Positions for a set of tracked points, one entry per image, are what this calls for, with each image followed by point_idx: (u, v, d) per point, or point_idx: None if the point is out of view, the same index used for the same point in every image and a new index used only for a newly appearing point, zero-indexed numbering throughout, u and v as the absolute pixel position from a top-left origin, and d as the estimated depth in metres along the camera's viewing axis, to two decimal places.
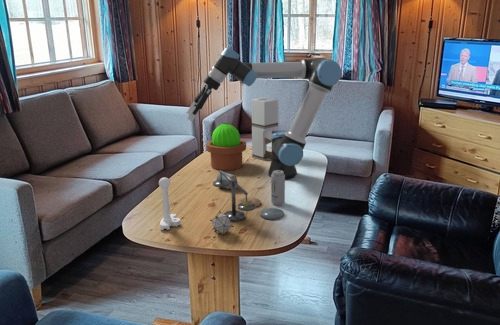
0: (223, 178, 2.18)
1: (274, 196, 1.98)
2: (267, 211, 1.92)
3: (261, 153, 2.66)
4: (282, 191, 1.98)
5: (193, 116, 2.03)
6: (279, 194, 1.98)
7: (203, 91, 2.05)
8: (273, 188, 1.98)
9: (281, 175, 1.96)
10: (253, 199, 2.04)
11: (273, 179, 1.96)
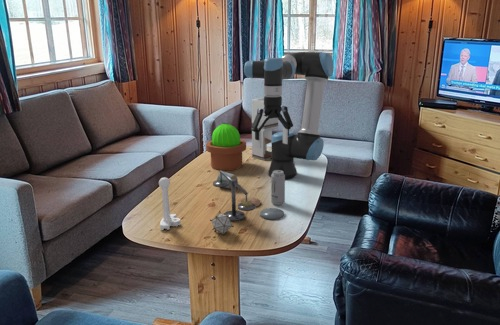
0: (224, 178, 2.19)
1: (274, 196, 1.98)
2: (267, 211, 1.92)
3: (261, 153, 2.66)
4: (282, 191, 1.98)
5: None
6: (279, 194, 1.98)
7: (280, 113, 1.91)
8: (273, 188, 1.98)
9: (281, 175, 1.96)
10: (253, 199, 2.04)
11: (273, 179, 1.96)
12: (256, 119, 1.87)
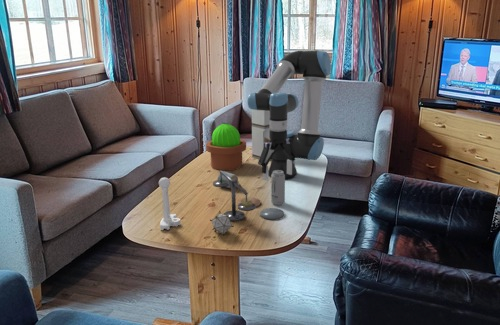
0: (224, 177, 2.19)
1: (274, 196, 1.98)
2: (267, 211, 1.92)
3: (261, 153, 2.66)
4: (282, 191, 1.98)
5: None
6: (279, 194, 1.98)
7: (285, 146, 1.95)
8: (273, 188, 1.98)
9: (281, 175, 1.96)
10: (253, 199, 2.04)
11: (273, 179, 1.96)
12: (263, 153, 1.90)
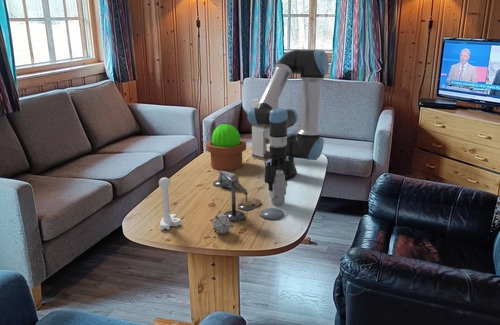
0: (225, 177, 2.19)
1: None
2: (267, 211, 1.92)
3: (261, 153, 2.66)
4: (282, 191, 1.98)
5: None
6: (279, 194, 1.98)
7: None
8: None
9: (281, 175, 1.96)
10: (253, 199, 2.04)
11: None
12: (267, 172, 1.93)
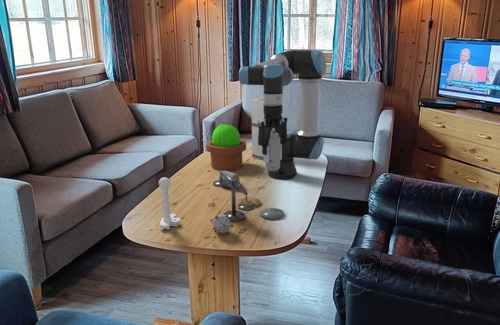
0: None
1: None
2: (267, 211, 1.92)
3: (261, 153, 2.66)
4: (277, 155, 1.81)
5: None
6: (274, 158, 1.81)
7: (279, 123, 1.80)
8: None
9: (276, 137, 1.79)
10: (253, 199, 2.04)
11: None
12: (260, 133, 1.77)
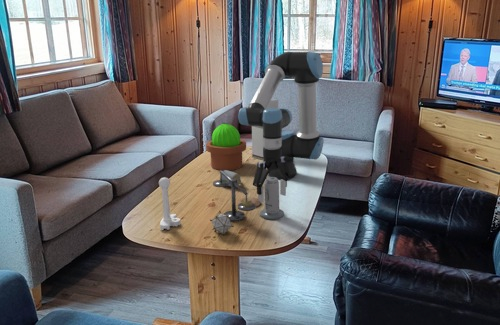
0: None
1: (268, 204, 1.86)
2: None
3: (261, 153, 2.66)
4: (276, 199, 1.86)
5: None
6: (273, 202, 1.85)
7: (279, 164, 1.84)
8: (266, 196, 1.86)
9: (275, 182, 1.84)
10: (253, 199, 2.04)
11: (266, 187, 1.84)
12: (257, 174, 1.80)
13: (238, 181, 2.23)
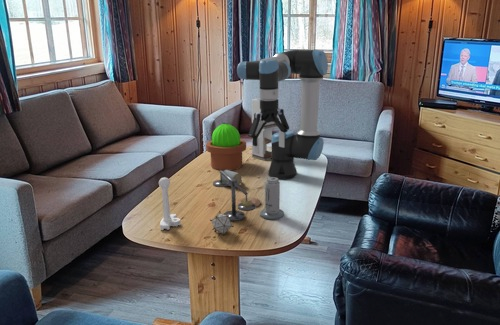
0: None
1: (268, 204, 1.86)
2: None
3: (261, 153, 2.66)
4: (277, 199, 1.86)
5: None
6: (274, 202, 1.85)
7: (276, 116, 1.84)
8: (267, 196, 1.86)
9: (275, 182, 1.84)
10: (253, 199, 2.04)
11: (267, 187, 1.84)
12: (254, 125, 1.79)
13: (239, 181, 2.23)
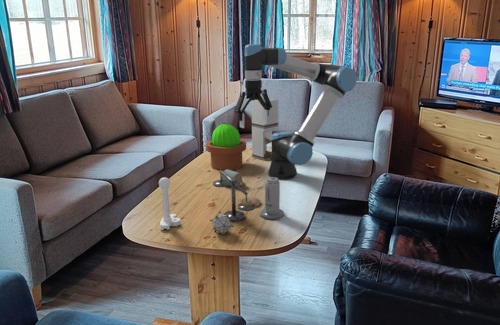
0: None
1: (268, 204, 1.86)
2: None
3: (261, 153, 2.66)
4: (277, 199, 1.86)
5: None
6: (274, 202, 1.85)
7: None
8: (267, 196, 1.86)
9: (275, 182, 1.84)
10: (253, 199, 2.04)
11: (267, 187, 1.84)
12: (239, 102, 2.02)
13: (239, 180, 2.24)
